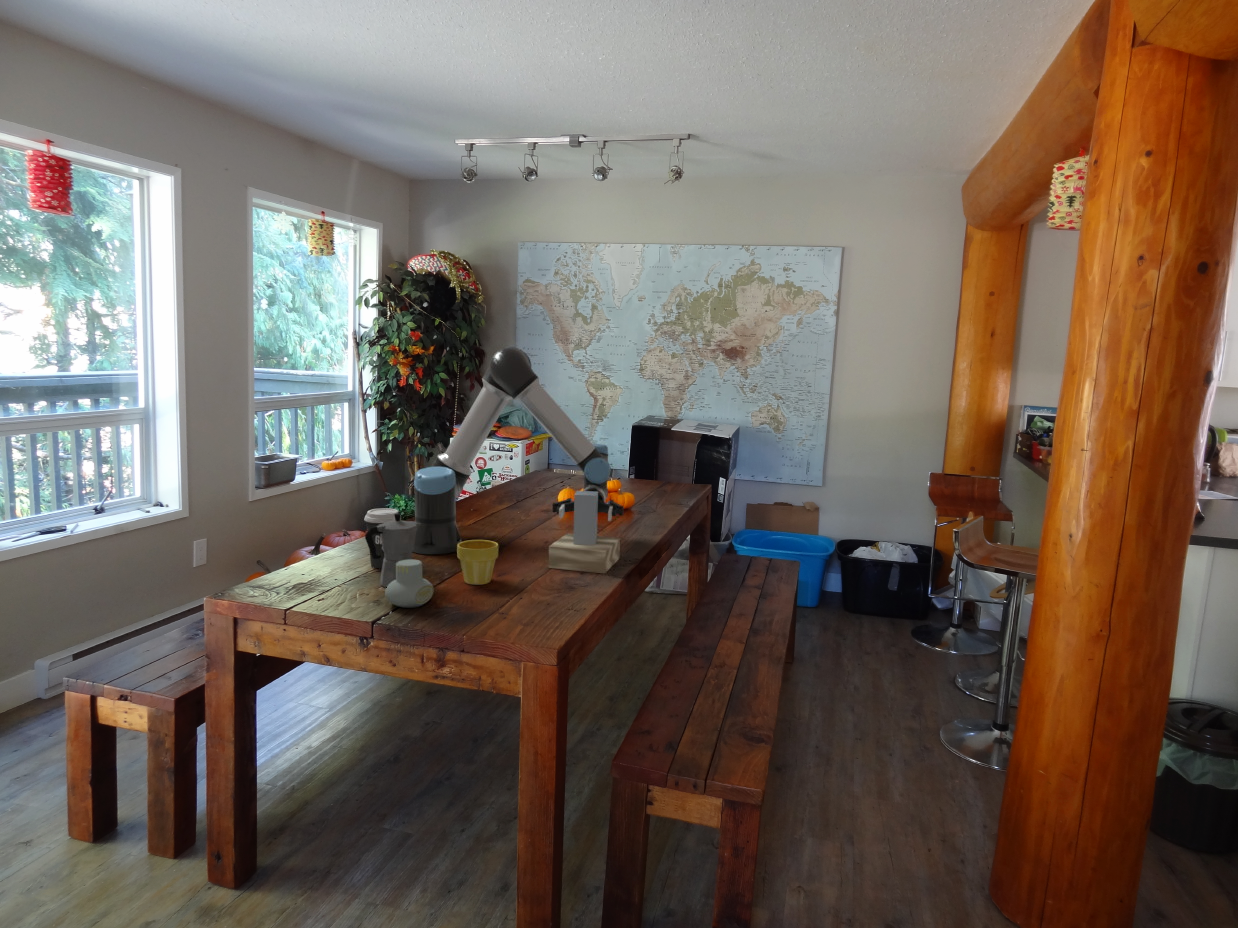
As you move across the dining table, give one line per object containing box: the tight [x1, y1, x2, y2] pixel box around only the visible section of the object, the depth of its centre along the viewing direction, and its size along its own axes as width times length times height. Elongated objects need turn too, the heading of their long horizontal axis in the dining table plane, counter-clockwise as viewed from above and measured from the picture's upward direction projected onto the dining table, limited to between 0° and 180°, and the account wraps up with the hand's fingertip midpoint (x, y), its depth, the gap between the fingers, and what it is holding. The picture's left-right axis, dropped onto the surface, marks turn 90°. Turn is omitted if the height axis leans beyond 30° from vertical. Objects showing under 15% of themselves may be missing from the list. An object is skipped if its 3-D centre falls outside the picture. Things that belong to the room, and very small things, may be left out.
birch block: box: [548, 533, 621, 574], centre depth 221 cm, size 16×16×6 cm
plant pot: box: [456, 539, 499, 586], centre depth 202 cm, size 10×10×10 cm
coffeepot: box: [364, 512, 421, 588], centre depth 197 cm, size 15×9×18 cm, turn 137°
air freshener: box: [384, 559, 435, 609], centre depth 183 cm, size 11×8×10 cm
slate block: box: [573, 490, 599, 545], centre depth 220 cm, size 6×6×14 cm
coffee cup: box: [363, 507, 402, 570], centre depth 213 cm, size 10×10×15 cm
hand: (584, 515), depth 216 cm, fingers open, 13 cm apart
